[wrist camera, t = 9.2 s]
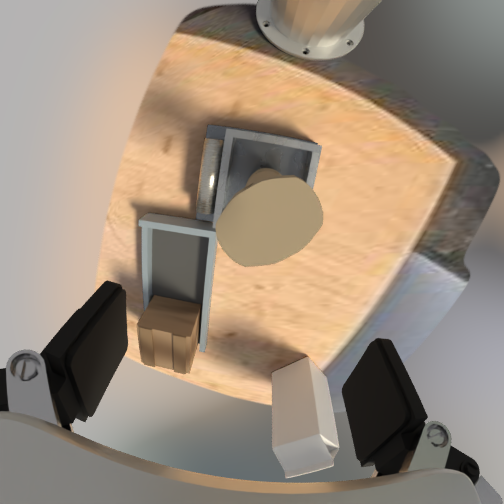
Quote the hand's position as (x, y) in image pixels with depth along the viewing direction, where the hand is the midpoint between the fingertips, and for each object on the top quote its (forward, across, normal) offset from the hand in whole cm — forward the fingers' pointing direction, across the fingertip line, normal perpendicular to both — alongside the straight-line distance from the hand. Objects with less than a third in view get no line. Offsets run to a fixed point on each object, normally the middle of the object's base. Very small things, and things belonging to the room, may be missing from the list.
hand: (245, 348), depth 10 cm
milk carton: (+25, -14, +27) cm, 40 cm away
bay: (+25, +8, +15) cm, 30 cm away
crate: (+25, +7, +20) cm, 33 cm away
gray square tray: (+25, +1, -2) cm, 25 cm away
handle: (+23, 0, -2) cm, 23 cm away
